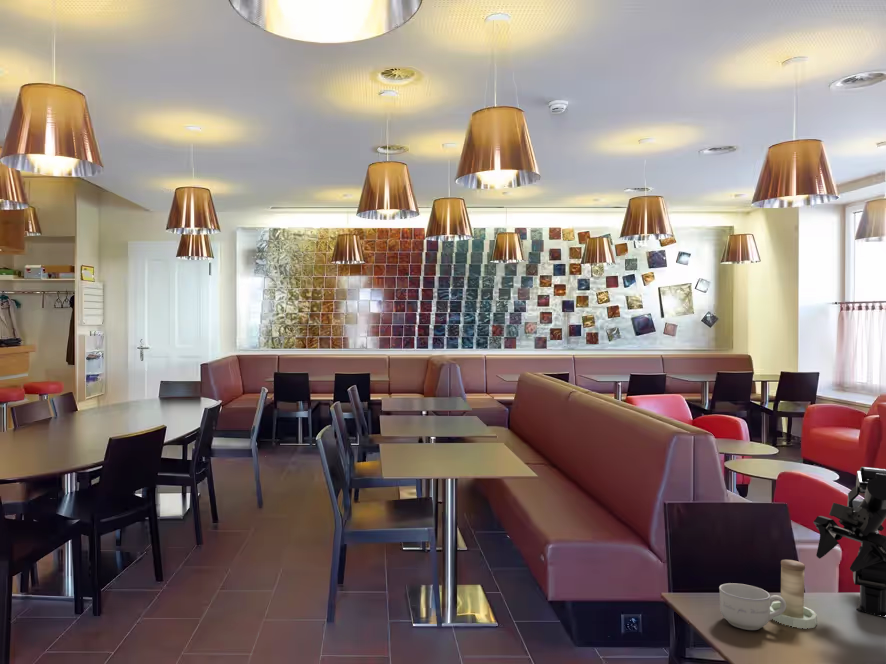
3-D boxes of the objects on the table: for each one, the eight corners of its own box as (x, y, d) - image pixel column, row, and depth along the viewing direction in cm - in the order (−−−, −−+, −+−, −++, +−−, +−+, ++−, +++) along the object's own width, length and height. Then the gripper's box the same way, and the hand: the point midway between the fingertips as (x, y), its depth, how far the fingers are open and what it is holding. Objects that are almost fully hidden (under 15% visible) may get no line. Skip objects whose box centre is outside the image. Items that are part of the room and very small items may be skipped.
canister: (782, 609, 150) (783, 558, 151) (806, 616, 147) (806, 563, 147) (777, 616, 147) (778, 563, 147) (801, 622, 143) (802, 568, 143)
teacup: (716, 628, 141) (717, 592, 141) (719, 610, 150) (720, 577, 151) (786, 643, 134) (787, 606, 134) (785, 624, 144) (785, 589, 144)
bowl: (773, 605, 154) (773, 597, 154) (820, 618, 147) (820, 610, 147) (762, 618, 146) (762, 610, 146) (811, 632, 140) (811, 623, 140)
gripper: (818, 483, 158) (783, 529, 155) (888, 501, 140) (849, 554, 136) (843, 512, 159) (809, 559, 156) (915, 534, 141) (878, 586, 138)
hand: (834, 563), depth 147 cm, fingers open, 9 cm apart
